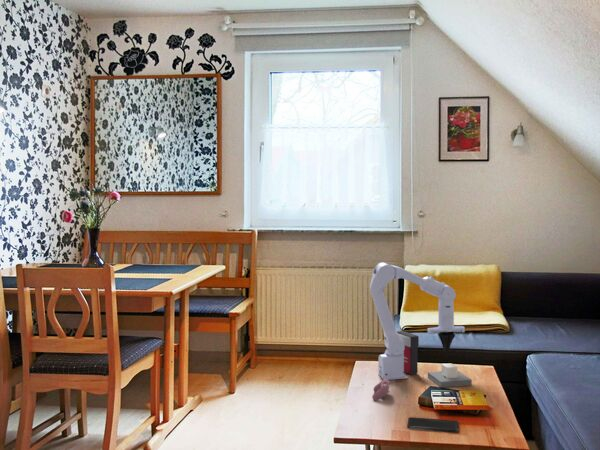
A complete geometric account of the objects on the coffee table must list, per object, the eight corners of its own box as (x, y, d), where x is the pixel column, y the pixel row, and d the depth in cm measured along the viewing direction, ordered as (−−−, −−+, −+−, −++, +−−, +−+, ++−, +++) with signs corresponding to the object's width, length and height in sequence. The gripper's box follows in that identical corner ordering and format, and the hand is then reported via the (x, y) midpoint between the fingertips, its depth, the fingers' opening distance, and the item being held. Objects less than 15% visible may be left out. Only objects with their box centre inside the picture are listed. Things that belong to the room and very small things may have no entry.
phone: (458, 430, 169) (406, 426, 173) (458, 434, 169) (406, 430, 173) (458, 420, 177) (408, 416, 181) (458, 424, 177) (408, 420, 181)
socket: (440, 387, 210) (440, 379, 210) (427, 377, 222) (427, 369, 222) (471, 384, 212) (471, 376, 212) (457, 375, 224) (457, 367, 224)
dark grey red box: (393, 368, 235) (393, 331, 235) (402, 366, 237) (402, 330, 236) (409, 375, 225) (409, 337, 225) (418, 373, 227) (418, 335, 226)
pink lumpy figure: (383, 405, 197) (392, 387, 196) (371, 399, 198) (380, 381, 197) (384, 396, 207) (392, 379, 206) (372, 389, 207) (381, 372, 207)
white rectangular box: (447, 383, 214) (447, 367, 214) (441, 379, 219) (441, 363, 219) (457, 382, 215) (457, 366, 215) (451, 378, 220) (451, 363, 220)
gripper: (432, 319, 218) (432, 355, 219) (468, 317, 221) (468, 352, 221) (425, 315, 225) (425, 350, 226) (460, 314, 228) (460, 348, 228)
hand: (446, 351), depth 224 cm, fingers closed
